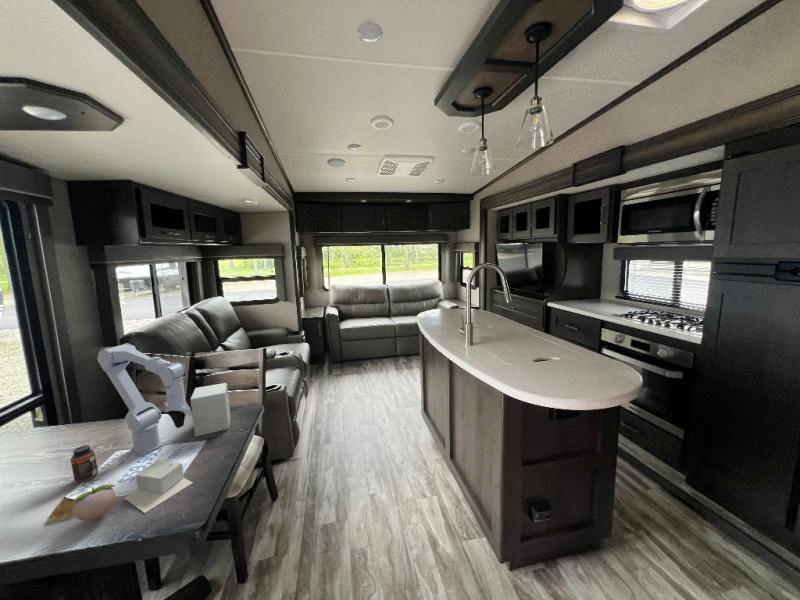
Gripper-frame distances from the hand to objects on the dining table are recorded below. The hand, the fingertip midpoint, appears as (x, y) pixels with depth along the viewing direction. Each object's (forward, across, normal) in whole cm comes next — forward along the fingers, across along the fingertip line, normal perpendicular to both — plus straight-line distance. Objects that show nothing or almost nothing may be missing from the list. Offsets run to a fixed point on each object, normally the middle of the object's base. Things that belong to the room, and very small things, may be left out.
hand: (179, 426), depth 123 cm
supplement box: (+11, -7, +17) cm, 21 cm away
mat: (+10, +16, -16) cm, 25 cm away
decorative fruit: (+11, +12, -30) cm, 34 cm away
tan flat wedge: (+11, -1, -34) cm, 36 cm away
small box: (+7, +8, -15) cm, 19 cm away
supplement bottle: (+11, -15, -24) cm, 30 cm away
